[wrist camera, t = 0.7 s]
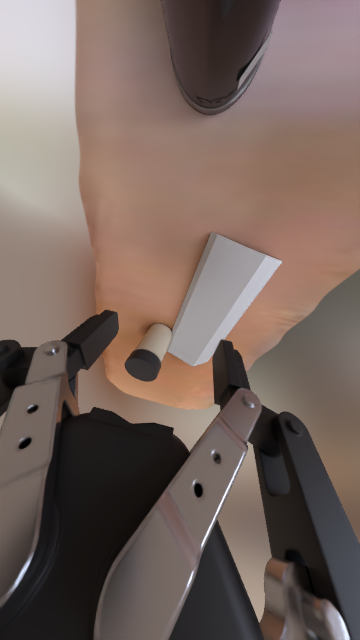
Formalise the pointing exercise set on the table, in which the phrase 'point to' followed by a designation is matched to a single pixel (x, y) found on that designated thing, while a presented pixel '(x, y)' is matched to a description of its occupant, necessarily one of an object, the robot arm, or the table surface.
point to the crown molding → (218, 297)
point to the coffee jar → (156, 340)
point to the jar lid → (143, 365)
